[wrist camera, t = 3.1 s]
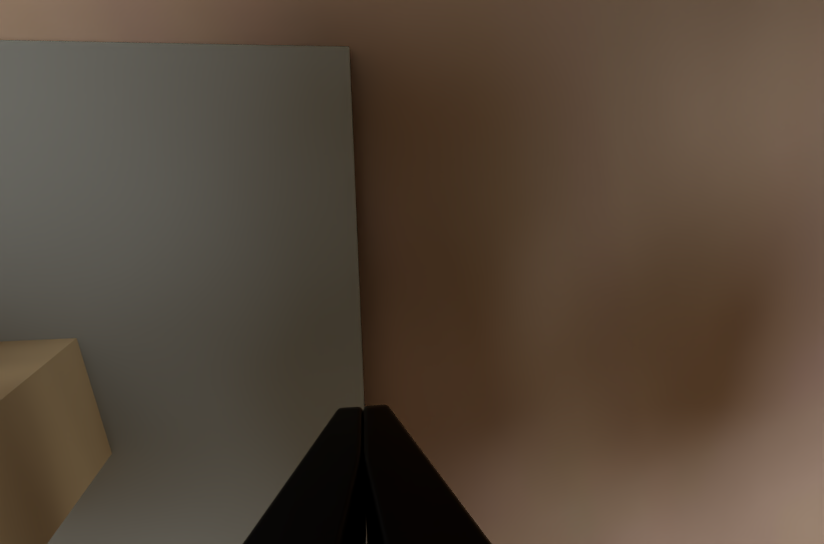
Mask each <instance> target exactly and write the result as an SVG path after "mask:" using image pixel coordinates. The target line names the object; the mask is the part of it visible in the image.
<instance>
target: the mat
mask: <svg viewBox="0 0 824 544" xmlns="http://www.w3.org/2000/svg"><path fill="white" fill-rule="evenodd" d="M68 338H77V341H78V344H79V348H80V351H81V354H82V358H83V361H84V364H85V367H86V371H87V374H88V377H89V380H90V384H91V387H92V390H93V394H94V397H95V400H96V403H97V407H98V410H99V413H100V416H101V420H102V423H103V426H104V430H105V433H106V436H107V439H108V443H109V446H110V449H111V452H112V454H111V455H110V457H109V458H108V460H107V461H106V462H105V464H104V465H103V467H102V468H101V469H100V471H99V472H98V474H97V475H96V476H95V478H94V479H93V481H92V482H91V483H90V485H89V486H88V487H87V489H86V490H85V492H84V493H83V494H82V496H81V497H80V499H79V500H78V501H77V503H76V504H75V506H74V507H73V508H72V510H71V511H70V513H69V514H68V515H67V517H66V518H65V520H64V521H63V522H62V524H61V525H60V527H59V528H58V529H57V531H56V532H55V534H54V535H53V536H52V538H51V539H50V541H49V542H48V543H47V544H243V543H244V541H245V540H246V538H247V537H248V535H249V534H250V533H251V531H252V530H253V528H254V527H255V525H256V524H257V523H258V521H259V520H260V518H261V517H262V516H263V514H264V513H265V511H266V510H267V508H268V507H269V506H270V504H271V503H272V501H273V500H274V499H275V497H276V496H277V494H278V493H279V491H280V490H281V489H282V487H283V486H284V484H285V483H286V481H287V480H288V479H289V477H290V476H291V474H292V473H293V472H294V470H295V469H296V467H297V466H298V464H299V463H300V462H301V460H302V459H303V457H304V456H305V455H306V453H307V452H308V450H309V449H310V447H311V446H312V445H313V443H314V442H315V440H316V439H317V437H318V436H319V435H320V433H321V432H322V430H323V429H324V428H325V426H326V425H327V423H328V422H329V420H330V419H331V418H332V416H333V415H334V413H335V412H336V411H337V409H339V408H344V407H361V408H362V409H364V384H363V360H362V335H361V311H360V287H359V263H358V239H357V215H356V191H355V167H354V143H353V119H352V95H351V71H350V49H349V47H347V46H292V45H238V44H183V43H129V42H74V41H20V40H0V342H3V341H24V340H46V339H68ZM366 544H367V530H366Z"/></svg>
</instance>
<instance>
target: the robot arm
mask: <svg viewBox="0 0 824 544" xmlns="http://www.w3.org/2000/svg"><path fill="white" fill-rule="evenodd" d="M366 530H367V544H491V542H490V541H489V540H488V538H487V537H486V536H485V534H484V533H483V532H482V530H481V529H480V528H479V526H478V525H477V524H476V522H475V521H474V520H473V518H472V517H471V516H470V514H469V513H468V512H467V510H466V509H465V508H464V506H463V505H462V504H461V502H460V501H459V500H458V498H457V497H456V496H455V494H454V493H453V492H452V490H451V489H450V488H449V486H448V485H447V484H446V482H445V481H444V480H443V478H442V477H441V476H440V474H439V473H438V472H437V470H436V469H435V468H434V466H433V465H432V464H431V462H430V461H429V460H428V458H427V457H426V456H425V454H424V453H423V452H422V450H421V449H420V448H419V446H418V445H417V444H416V442H415V441H414V440H413V438H412V437H411V436H410V434H409V433H408V432H407V430H406V429H405V428H404V426H403V425H402V424H401V422H400V421H399V420H398V418H397V417H396V416H395V414H394V413H393V412H392V410H391V409H390V408H389V407H388V406H387V405H374V406H366V407H364V409H362V408H361V407H344V408H339V409H337V411H336V412H335V413H334V415H333V416H332V418H331V419H330V420H329V422H328V423H327V425H326V426H325V428H324V429H323V430H322V432H321V433H320V435H319V436H318V437H317V439H316V440H315V442H314V443H313V445H312V446H311V447H310V449H309V450H308V452H307V453H306V455H305V456H304V457H303V459H302V460H301V462H300V463H299V464H298V466H297V467H296V469H295V470H294V472H293V473H292V474H291V476H290V477H289V479H288V480H287V481H286V483H285V484H284V486H283V487H282V489H281V490H280V491H279V493H278V494H277V496H276V497H275V499H274V500H273V501H272V503H271V504H270V506H269V507H268V508H267V510H266V511H265V513H264V514H263V516H262V517H261V518H260V520H259V521H258V523H257V524H256V525H255V527H254V528H253V530H252V531H251V533H250V534H249V535H248V537H247V538H246V540H245V541H244V543H243V544H366Z"/></svg>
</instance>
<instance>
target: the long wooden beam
mask: <svg viewBox="0 0 824 544" xmlns="http://www.w3.org/2000/svg"><path fill="white" fill-rule="evenodd" d="M111 454H112V452H111V449H110V446H109V443H108V439H107V436H106V433H105V430H104V426H103V423H102V420H101V416H100V413H99V410H98V407H97V403H96V400H95V397H94V394H93V390H92V387H91V384H90V380H89V377H88V374H87V371H86V367H85V364H84V361H83V358H82V354H81V351H80V348H79V344H78V341H77V338H68V339H46V340H24V341H3V342H0V544H47V543H48V542H49V541H50V539H51V538H52V536H53V535H54V534H55V532H56V531H57V529H58V528H59V527H60V525H61V524H62V522H63V521H64V520H65V518H66V517H67V515H68V514H69V513H70V511H71V510H72V508H73V507H74V506H75V504H76V503H77V501H78V500H79V499H80V497H81V496H82V494H83V493H84V492H85V490H86V489H87V487H88V486H89V485H90V483H91V482H92V481H93V479H94V478H95V476H96V475H97V474H98V472H99V471H100V469H101V468H102V467H103V465H104V464H105V462H106V461H107V460H108V458H109V457H110V455H111Z"/></svg>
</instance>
